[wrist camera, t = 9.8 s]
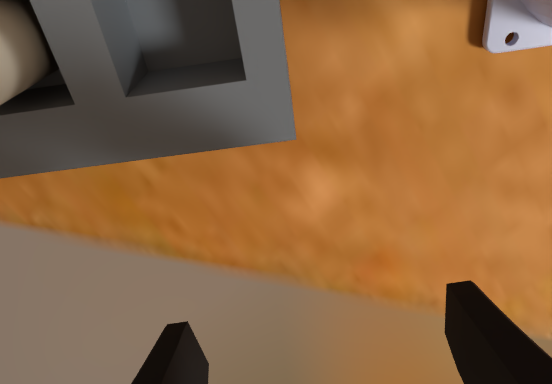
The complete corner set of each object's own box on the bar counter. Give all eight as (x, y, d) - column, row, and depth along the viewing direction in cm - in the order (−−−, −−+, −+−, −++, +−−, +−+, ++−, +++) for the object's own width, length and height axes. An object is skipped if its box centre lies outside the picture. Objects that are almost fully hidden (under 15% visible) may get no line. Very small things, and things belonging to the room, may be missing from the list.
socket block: (259, -163, 13) (254, -196, 10) (291, 100, 18) (296, 139, 15) (-109, -95, 14) (-230, -102, 11) (17, 138, 19) (-38, 183, 16)
